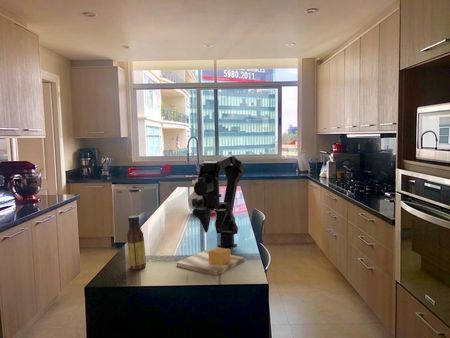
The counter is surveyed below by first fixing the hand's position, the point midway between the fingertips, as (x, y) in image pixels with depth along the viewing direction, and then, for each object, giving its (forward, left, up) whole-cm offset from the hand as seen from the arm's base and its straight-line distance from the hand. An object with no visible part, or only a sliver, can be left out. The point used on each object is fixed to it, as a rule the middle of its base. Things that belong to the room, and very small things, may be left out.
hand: (213, 229), depth 150 cm
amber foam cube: (+8, +9, -10) cm, 15 cm away
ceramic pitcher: (-66, -59, -11) cm, 89 cm away
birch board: (+8, +4, -11) cm, 14 cm away
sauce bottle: (+26, -17, -11) cm, 33 cm away
